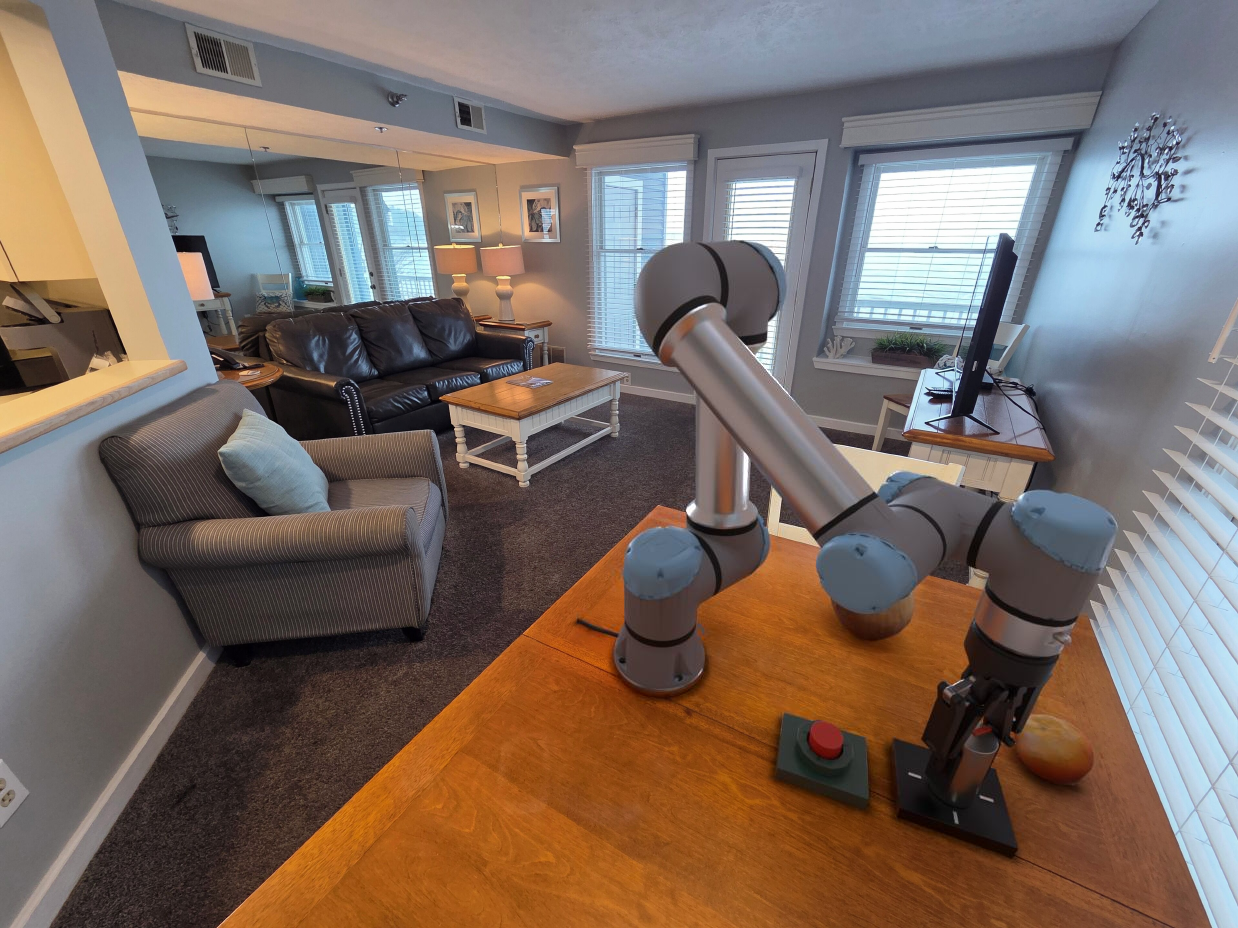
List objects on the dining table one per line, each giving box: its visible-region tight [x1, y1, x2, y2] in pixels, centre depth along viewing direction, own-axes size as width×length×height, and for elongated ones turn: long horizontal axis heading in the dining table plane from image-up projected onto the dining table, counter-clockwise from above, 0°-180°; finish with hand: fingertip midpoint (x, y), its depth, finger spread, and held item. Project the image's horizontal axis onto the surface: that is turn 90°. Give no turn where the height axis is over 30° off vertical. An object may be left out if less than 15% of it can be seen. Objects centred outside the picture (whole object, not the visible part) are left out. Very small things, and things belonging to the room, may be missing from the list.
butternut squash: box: [829, 590, 915, 642], centre depth 86 cm, size 14×13×25 cm
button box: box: [774, 711, 870, 811], centre depth 67 cm, size 11×9×4 cm
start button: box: [809, 720, 843, 759], centre depth 66 cm, size 4×4×2 cm
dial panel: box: [889, 737, 1019, 859], centre depth 63 cm, size 12×10×2 cm
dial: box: [927, 721, 998, 808], centre depth 61 cm, size 5×5×10 cm
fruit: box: [1013, 713, 1095, 787], centre depth 66 cm, size 8×8×8 cm
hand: (954, 775), depth 62 cm, fingers closed on dial, 5 cm apart
